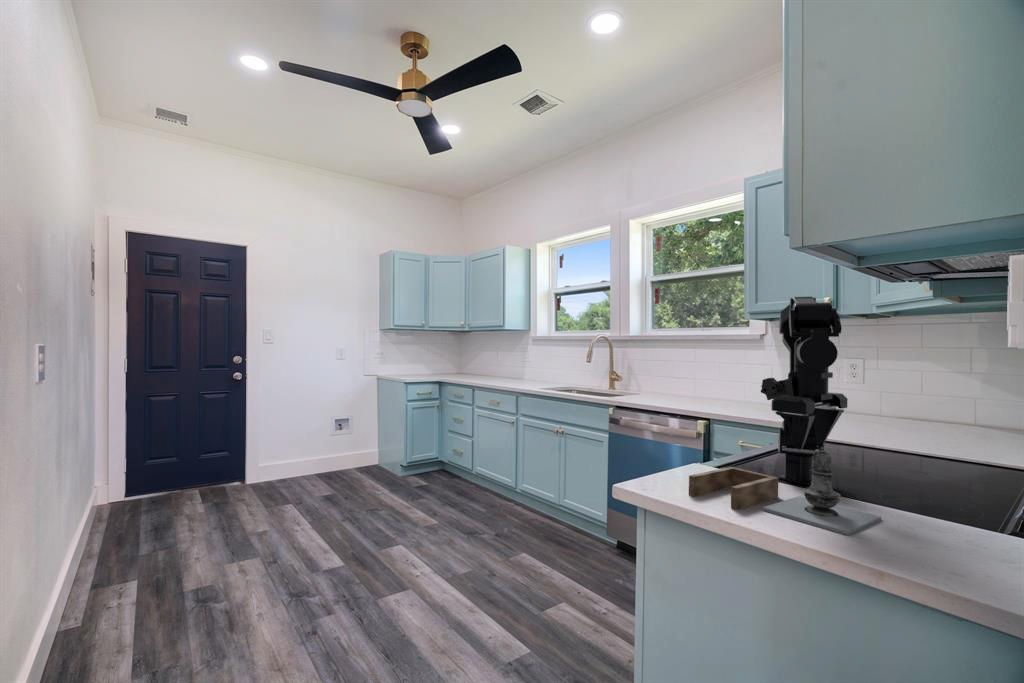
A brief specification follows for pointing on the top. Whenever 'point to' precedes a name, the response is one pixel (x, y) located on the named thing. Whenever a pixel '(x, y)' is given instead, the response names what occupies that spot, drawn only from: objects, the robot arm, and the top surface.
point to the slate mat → (843, 523)
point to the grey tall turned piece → (821, 487)
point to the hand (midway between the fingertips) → (809, 446)
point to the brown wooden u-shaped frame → (736, 485)
